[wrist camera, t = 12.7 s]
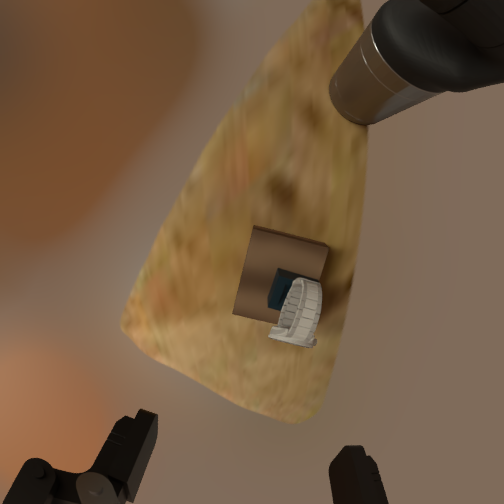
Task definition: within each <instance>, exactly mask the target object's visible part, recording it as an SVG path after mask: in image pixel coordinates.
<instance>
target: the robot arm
mask: <svg viewBox="0 0 504 504" xmlns="http://www.w3.org/2000/svg"><path fill="white" fill-rule="evenodd" d="M500 83H504V0H389V1H387V2H386V3H384V4H383V5H382V6H381V8H380V9H379V10H378V12H377V13H376V15H375V16H374V18H373V19H372V21H371V22H370V24H369V25H368V26H367V28H366V29H365V31H364V32H363V34H362V35H361V37H360V38H359V39H358V41H357V42H356V44H355V45H354V46H353V48H352V49H351V51H350V52H349V54H348V55H347V57H346V58H345V59H344V61H343V62H342V64H341V65H340V66H339V68H338V69H337V71H336V72H335V74H334V75H333V77H332V79H331V81H330V85H329V94H330V98H331V100H332V103H333V105H334V106H335V108H336V109H337V111H338V112H339V113H340V114H341V115H342V116H344V117H345V118H346V119H348V120H350V121H352V122H354V123H357V124H361V125H370V124H375V123H377V122H379V121H381V120H384V119H386V118H388V117H390V116H392V115H394V114H397V113H399V112H401V111H403V110H405V109H407V108H410V107H412V106H414V105H416V104H418V103H421V102H423V101H425V100H427V99H429V98H432V97H434V96H436V95H439V94H441V93H443V92H445V91H451V92H467V91H470V90H474V89H477V88H481V87H486V86H490V85H495V84H500ZM157 433H158V415H157V414H155V413H152V412H149V411H146V410H143V409H140V410H139V411H138V413H137V415H136V417H135V419H133V418H131V417H128V416H124V417H123V418H122V419H120V420H118V421H117V422H116V423H115V425H114V427H113V429H112V431H111V433H110V434H109V436H108V438H107V440H106V441H105V443H104V445H103V447H102V449H101V451H100V452H99V454H98V456H97V458H96V460H95V462H94V464H93V466H92V467H91V468H90V469H89V470H87V471H86V472H83V473H70V472H66V471H62V470H58V469H54V468H52V466H51V465H50V464H49V463H48V462H46V461H45V460H43V459H40V458H31V459H29V460H27V461H26V462H25V463H24V465H23V466H22V468H21V470H20V472H19V473H18V475H17V477H16V479H15V481H14V482H13V484H12V487H11V488H10V490H9V492H8V494H7V495H6V497H5V499H4V501H3V504H125V502H126V501H129V502H132V503H133V502H134V499H135V496H136V494H137V491H138V488H139V485H140V483H141V480H142V478H143V475H144V472H145V469H146V467H147V464H148V462H149V459H150V457H151V454H152V451H153V449H154V446H155V443H156V439H157ZM329 478H330V484H331V490H332V497H333V503H334V504H388V500H387V497H386V493H385V490H384V487H383V483H382V481H381V477H380V474H379V471H378V467H377V464H376V462H375V461H374V460H373V459H372V458H371V456H366V453H365V450H364V448H363V446H361V445H357V446H354V445H353V446H344V447H343V449H342V450H341V451H340V453H339V454H338V455H337V456H336V457H335V458H334V460H333V461H332V462H331V464H330V466H329Z"/></svg>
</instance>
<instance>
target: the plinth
mask: <svg viewBox="0 0 504 504" xmlns="http://www.w3.org/2000/svg"><path fill="white" fill-rule="evenodd" d="M328 251H329V247H328V246H327V245H326V244H325V243H322V242H318V241H315V240H311V239H307V238H303V237H299V236H295V235H291V234H287V233H283V232H279V231H275V230H271V229H267V228H263V227H259V226H255V225H254V226H253V230H252V234H251V238H250V242H249V247H248V251H247V255H246V259H245V263H244V267H243V271H242V275H241V279H240V284H239V288H238V292H237V296H236V300H235V304H234V308H233V313H232V314H234V315H239V316H243V317H247V318H251V319H256V320H260V321H265V322H269V323H274V324H278V322H279V317H280V314H281V311H278V310H275V309H271V308H268V303H267V297H268V294H269V291H270V289H271V286H272V283H273V280H274V277H275V274H276V271H277V269H278V268H280V269H284V270H287V271H290V272H294V273H297V274H300V275H304V276H307V277H310V278H314V279H317V280H318V281H319V279H320V276H321V273H322V270H323V267H324V264H325V261H326V257H327V254H328ZM282 313H283V312H282Z"/></svg>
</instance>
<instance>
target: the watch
mask: <svg viewBox="0 0 504 504" xmlns="http://www.w3.org/2000/svg"><path fill="white" fill-rule="evenodd" d="M267 303H268V308H271V309H275V310H278V311H281V314H280V317H279V322H278V326H273V327H272V328H271V331H270V335H269V336H268V337H269V338H271V339H274V340H278V341H281V342H285V343H289V344H293V345H298V346H302V347H306V348H313V346H315V345H316V344H317V339H314V337H315V336H314V335H313V334H314V332H315V329H316V326H317V324H318V320H319V316H320V315H318V314H320V313H321V305H322V287H321V284H320V283H319V281H318V280H317V279H314V278H310V277H307V276H304V275H300V274H297V273H294V272H290V271H287V270H284V269H280V268H278V269H277V271H276V274H275V277H274V280H273V283H272V286H271V289H270V291H269V294H268V297H267ZM282 312H283V313H282ZM312 319H313V320H312Z"/></svg>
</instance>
